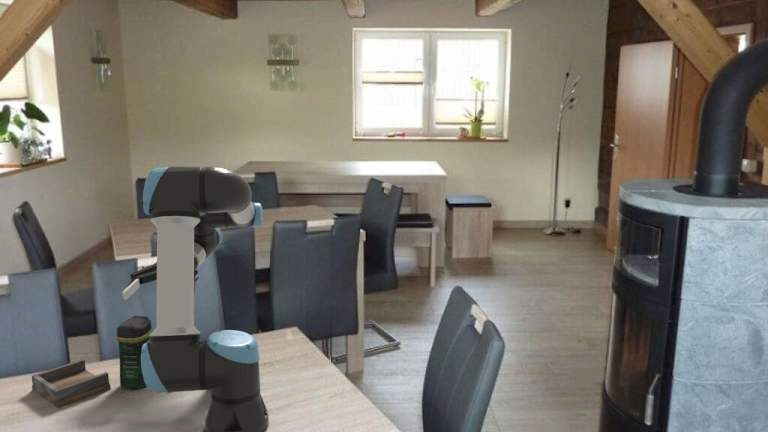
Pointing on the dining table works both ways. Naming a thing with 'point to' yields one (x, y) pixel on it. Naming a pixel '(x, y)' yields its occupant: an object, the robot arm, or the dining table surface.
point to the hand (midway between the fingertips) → (145, 302)
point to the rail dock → (69, 384)
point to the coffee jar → (132, 350)
